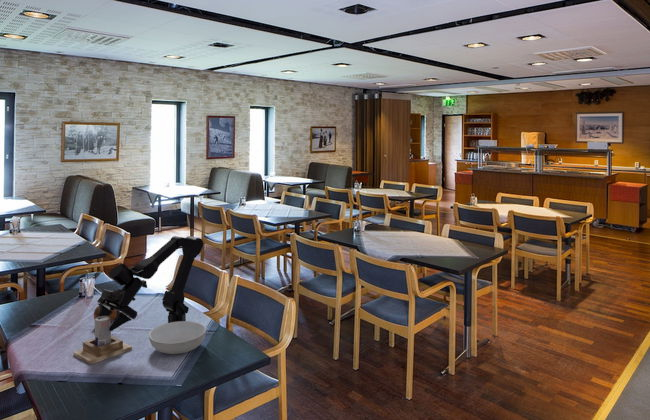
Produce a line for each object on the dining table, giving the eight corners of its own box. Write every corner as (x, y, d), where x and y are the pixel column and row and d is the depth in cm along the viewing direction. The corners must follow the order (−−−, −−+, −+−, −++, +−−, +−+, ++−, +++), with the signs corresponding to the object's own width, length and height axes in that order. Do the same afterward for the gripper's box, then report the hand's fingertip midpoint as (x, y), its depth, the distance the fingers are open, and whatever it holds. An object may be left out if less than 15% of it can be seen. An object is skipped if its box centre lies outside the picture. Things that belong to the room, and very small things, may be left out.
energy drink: (102, 345, 185) (100, 315, 183) (114, 346, 184) (113, 316, 182) (92, 351, 180) (90, 320, 178) (105, 352, 179) (103, 321, 177)
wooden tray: (114, 341, 192) (114, 331, 191) (132, 349, 185) (131, 338, 184) (73, 355, 179) (73, 344, 178) (90, 364, 172) (90, 353, 171)
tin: (99, 327, 205) (98, 308, 204) (92, 327, 205) (91, 307, 204) (121, 315, 219) (120, 297, 218) (114, 314, 220) (114, 296, 219)
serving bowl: (147, 341, 192) (147, 325, 191) (201, 334, 200) (201, 318, 199) (151, 364, 173) (150, 346, 172) (210, 355, 181) (210, 337, 180)
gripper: (100, 276, 188) (73, 311, 181) (128, 285, 177) (100, 323, 170) (120, 290, 195) (95, 325, 188) (148, 300, 184) (122, 337, 177)
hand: (102, 327), depth 181 cm, fingers open, 9 cm apart
